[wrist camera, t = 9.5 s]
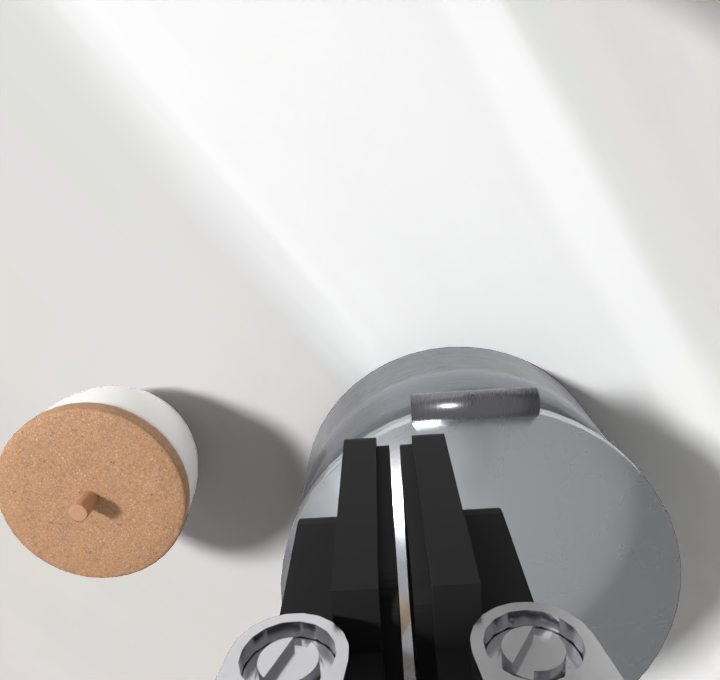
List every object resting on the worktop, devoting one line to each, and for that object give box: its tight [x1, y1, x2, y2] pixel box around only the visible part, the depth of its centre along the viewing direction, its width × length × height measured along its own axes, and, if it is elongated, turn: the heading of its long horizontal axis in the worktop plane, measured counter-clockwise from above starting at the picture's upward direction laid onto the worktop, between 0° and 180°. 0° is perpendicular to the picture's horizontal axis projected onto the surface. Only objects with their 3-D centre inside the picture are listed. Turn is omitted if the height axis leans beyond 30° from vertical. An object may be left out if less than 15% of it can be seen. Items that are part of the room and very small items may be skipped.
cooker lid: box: [281, 386, 681, 680], centre depth 35 cm, size 27×21×3 cm
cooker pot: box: [300, 347, 608, 505], centre depth 42 cm, size 26×20×10 cm
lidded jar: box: [0, 386, 198, 578], centre depth 41 cm, size 11×11×9 cm
